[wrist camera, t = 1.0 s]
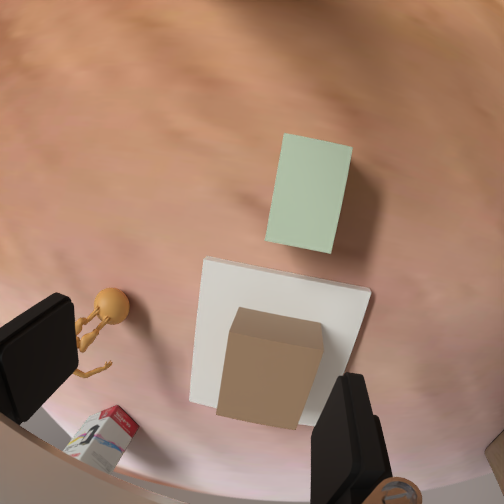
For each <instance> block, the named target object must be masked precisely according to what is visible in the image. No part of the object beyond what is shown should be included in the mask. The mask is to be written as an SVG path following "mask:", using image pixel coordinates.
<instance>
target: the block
mask: <svg viewBox="0 0 504 504" xmlns="http://www.w3.org/2000/svg"><path fill="white" fill-rule="evenodd" d="M485 455H486V458H487V460H488V462H489V464H490V466H491V468H492V470H493V473H494V474H495V477H496V479H497V481H498V484H499V486H500V488H501V491H502V493H503V496H504V431H503V432H502V433H501V434H500V435H499V436H498V437H497V438H496V439H495V440H494V441H493V442H492V443H491V444H490V445H489V446H488V447H487V448H486V450H485Z"/></svg>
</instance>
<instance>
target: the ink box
mask: <svg viewBox="0 0 504 504" xmlns="http://www.w3.org/2000/svg"><path fill="white" fill-rule="evenodd" d="M138 428H139V426H138V425H137V424H136V423H135V422H134V421H133V420H132V419H131V418H130V417H129V416H128V415H127V414H126V413H125V412H124V411H123V410H122V409H121V408H120V407H119V406H118V405H116V406H113V407H111V408H109V409H106V410H104V411H101V412H99V413H96V414H94V415H91V416H89V417H88V419H87V420H86V421H85V423H84V424H83V425H82V427H81V428H80V429H79V431H78V432H77V433H76V434H75V436H74V437H73V438H72V440H71V441H70V443H69V444H68V445H67V446H66V448H65V449H64V450H63V452H64V453H66V454H68V455H70V456H72V457H74V458H76V459H78V460H80V461H82V462H84V463H86V464H88V465H90V466H92V467H94V468H96V469H98V470H100V471H102V472H105V473H107V474H109V475H111V474H112V472H113V470H114V469H115V467H116V465H117V463H118V462H119V460H120V458H121V457H122V455H123V453H124V452H125V450H126V448H127V446H128V445H129V443H130V441H131V440H132V438H133V436H134V434H135V433H136V431H137V429H138Z"/></svg>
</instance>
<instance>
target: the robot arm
mask: <svg viewBox="0 0 504 504" xmlns="http://www.w3.org/2000/svg"><path fill="white" fill-rule="evenodd" d="M78 363H79V360H78V351H77V341H76V330H75V315H74V305H73V303H72V302H71V299H70V298H69V297H68V296H65V295H62V294H60V293H54V294H52V295H50V296H49V297H47V298H45V299H44V300H42V301H41V302H39V303H38V304H36V305H34V306H33V307H31V308H30V309H28V310H27V311H25V312H23V313H22V314H20V315H19V316H17V317H16V318H14V319H13V320H11V321H10V322H8V323H7V324H5V325H4V326H2V327H1V328H0V504H188V503H185V502H182V501H179V500H175V499H172V498H169V497H166V496H163V495H160V494H157V493H154V492H151V491H149V490H146V489H144V488H141V487H138V486H136V485H133V484H131V483H128V482H126V481H123V480H121V479H118V478H116V477H114V476H111V475H109V474H107V473H105V472H102V471H100V470H98V469H96V468H94V467H92V466H90V465H88V464H86V463H84V462H82V461H80V460H78V459H76V458H74V457H72V456H70V455H68V454H66V453H64V452H63V451H61V450H59V449H57V448H55V447H54V446H52V445H50V444H48V443H47V442H45V441H43V440H42V439H40V438H38V437H37V436H35V435H33V434H32V433H30V432H29V431H27V430H26V429H24V428H22V427H21V426H19V425H20V424H21V423H22V422H26V421H27V420H29V419H30V417H31V416H32V415H33V414H34V413H35V412H36V411H37V410H38V409H39V408H40V407H41V406H42V405H43V404H44V403H45V401H46V400H47V399H48V398H49V397H50V396H51V395H52V394H53V393H54V392H55V391H56V390H57V389H58V388H59V387H60V386H61V385H62V384H63V383H64V382H65V381H66V380H67V378H68V377H69V376H70V375H71V374H72V373H73V372H74V371H75V370H76V369H77V367H78ZM310 504H422V495H421V492H420V490H419V488H418V487H417V486H416V485H415V484H414V483H413V482H411V481H409V480H407V479H405V478H400V477H393V475H392V471H391V466H390V462H389V457H388V453H387V448H386V444H385V440H384V436H383V431H382V427H381V423H380V420H379V417H378V416H377V415H373V412H372V408H371V404H370V400H369V396H368V392H367V388H366V384H365V380H364V377H363V375H361V374H355V373H349V372H346V373H345V374H344V375H343V376H340V375H339V376H338V377H337V379H336V382H335V384H334V386H333V388H332V391H331V393H330V395H329V397H328V400H327V402H326V404H325V406H324V408H323V410H322V413H321V415H320V417H319V419H318V421H317V423H316V425H315V427H314V429H313V432H312V436H311V499H310Z"/></svg>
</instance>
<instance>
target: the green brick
mask: <svg viewBox="0 0 504 504" xmlns="http://www.w3.org/2000/svg"><path fill="white" fill-rule="evenodd" d="M352 149H353V147H349V146H345V145H341V144H336V143H332V142H327V141H323V140H318V139H313V138H308V137H303V136H297V135H292V134H286V133H284V136H283V142H282V147H281V153H280V159H279V164H278V170H277V176H276V181H275V187H274V193H273V198H272V204H271V209H270V215H269V220H268V226H267V231H266V237H265V241H269V242H274V243H279V244H284V245H289V246H294V247H300V248H305V249H310V250H315V251H319V252H324V253H329V254H331V251H332V246H333V242H334V238H335V233H336V229H337V224H338V220H339V215H340V210H341V206H342V201H343V196H344V191H345V186H346V181H347V176H348V170H349V165H350V160H351V154H352Z"/></svg>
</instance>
